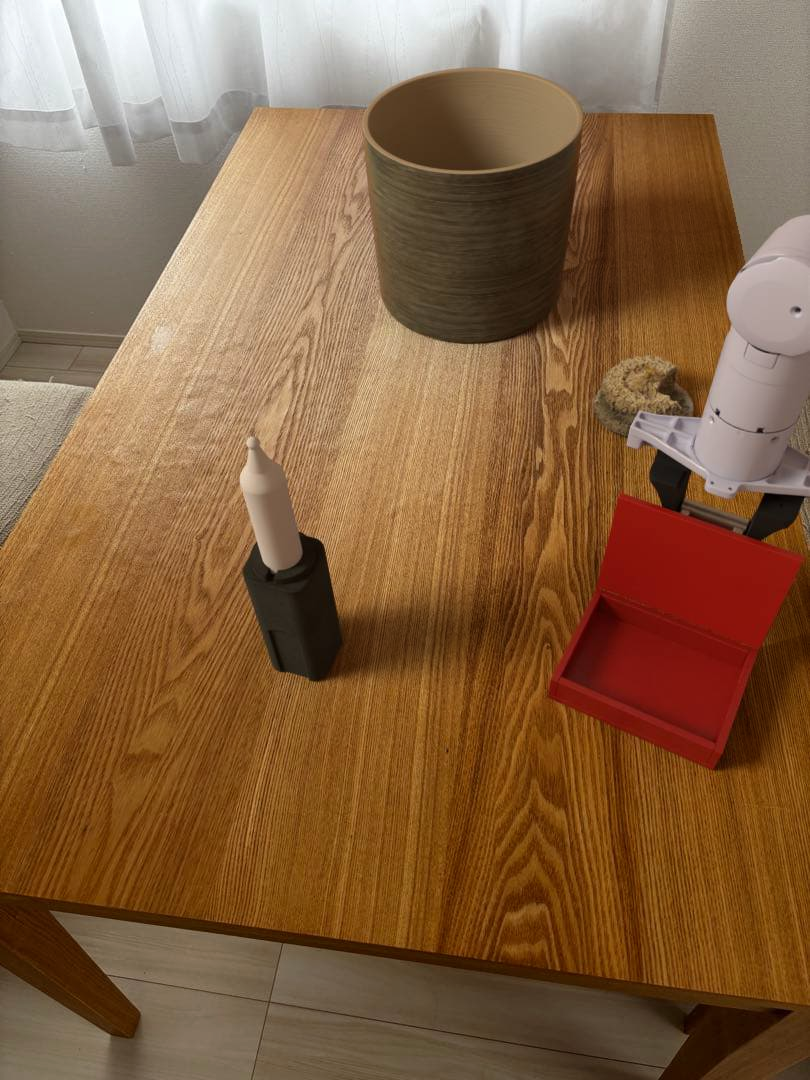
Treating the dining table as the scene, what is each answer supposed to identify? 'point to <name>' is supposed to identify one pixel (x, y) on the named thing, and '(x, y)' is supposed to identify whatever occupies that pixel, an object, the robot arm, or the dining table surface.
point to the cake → (640, 393)
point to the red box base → (654, 677)
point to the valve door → (697, 567)
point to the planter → (472, 199)
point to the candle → (287, 575)
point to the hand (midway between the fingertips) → (706, 534)
